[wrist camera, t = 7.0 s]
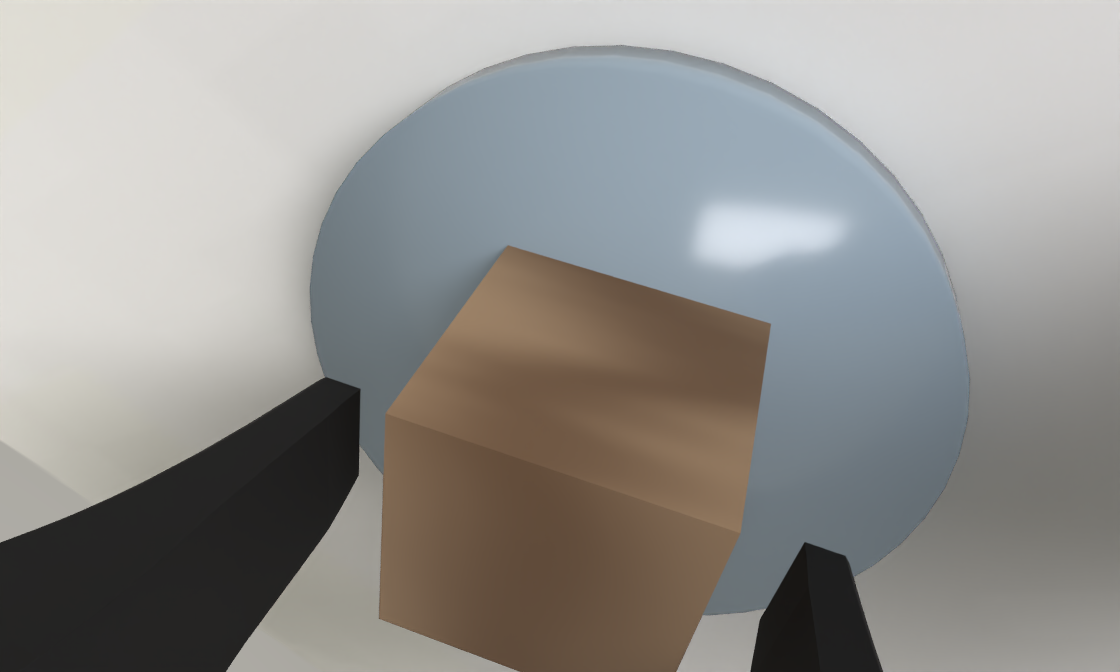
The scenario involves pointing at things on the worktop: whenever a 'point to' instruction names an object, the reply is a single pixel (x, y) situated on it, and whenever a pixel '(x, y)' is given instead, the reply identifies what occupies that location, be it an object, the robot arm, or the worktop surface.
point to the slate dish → (674, 271)
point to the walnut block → (569, 470)
